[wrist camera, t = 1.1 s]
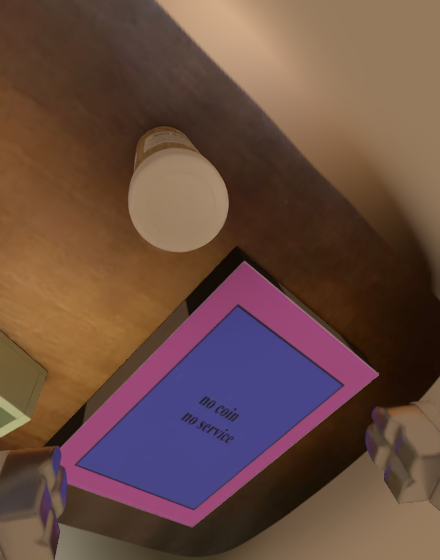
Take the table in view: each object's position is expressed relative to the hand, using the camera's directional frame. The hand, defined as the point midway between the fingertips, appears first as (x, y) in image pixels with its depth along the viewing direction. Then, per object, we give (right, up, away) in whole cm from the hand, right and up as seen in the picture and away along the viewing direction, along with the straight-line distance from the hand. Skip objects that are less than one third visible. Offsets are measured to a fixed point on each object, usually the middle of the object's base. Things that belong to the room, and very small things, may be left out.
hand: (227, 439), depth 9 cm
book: (-2, -9, +31) cm, 32 cm away
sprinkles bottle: (-4, +14, +19) cm, 24 cm away
